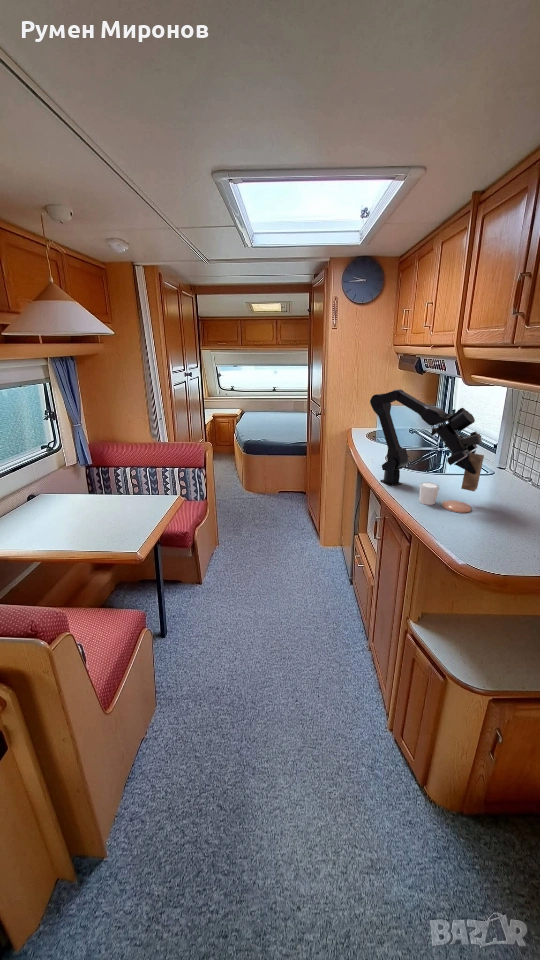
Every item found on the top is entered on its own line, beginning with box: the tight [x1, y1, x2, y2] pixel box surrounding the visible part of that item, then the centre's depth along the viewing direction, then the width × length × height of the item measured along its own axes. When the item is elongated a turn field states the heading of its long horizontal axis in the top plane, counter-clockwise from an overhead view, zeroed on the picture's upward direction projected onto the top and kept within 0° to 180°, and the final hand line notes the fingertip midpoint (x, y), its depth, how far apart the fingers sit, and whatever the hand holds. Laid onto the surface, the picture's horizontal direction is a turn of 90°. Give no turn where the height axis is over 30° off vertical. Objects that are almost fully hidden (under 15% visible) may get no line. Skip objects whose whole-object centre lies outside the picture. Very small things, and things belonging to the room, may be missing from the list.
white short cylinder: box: [418, 481, 440, 506], centre depth 152 cm, size 7×7×7 cm
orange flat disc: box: [441, 500, 472, 514], centre depth 148 cm, size 10×10×1 cm
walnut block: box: [460, 453, 485, 492], centre depth 148 cm, size 4×4×13 cm
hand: (476, 472), depth 147 cm, fingers closed on walnut block, 4 cm apart
